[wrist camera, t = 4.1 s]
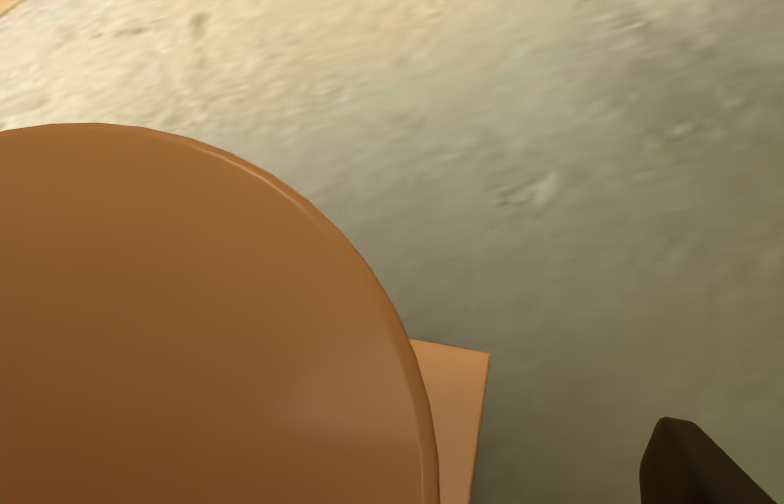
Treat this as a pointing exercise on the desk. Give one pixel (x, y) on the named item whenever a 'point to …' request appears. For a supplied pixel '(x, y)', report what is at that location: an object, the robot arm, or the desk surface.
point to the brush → (206, 339)
